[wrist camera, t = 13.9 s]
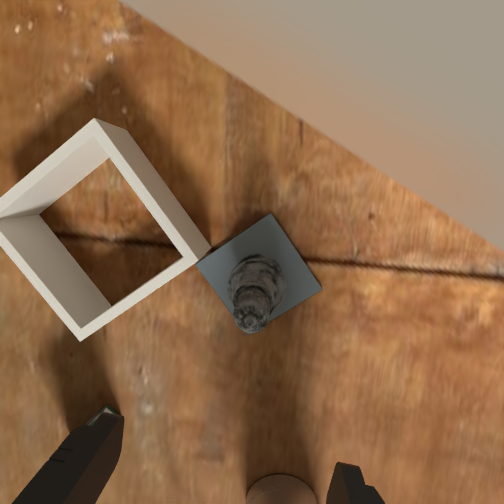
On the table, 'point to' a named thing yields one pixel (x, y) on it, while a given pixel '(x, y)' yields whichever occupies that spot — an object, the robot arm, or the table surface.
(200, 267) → the mat
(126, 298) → the frame
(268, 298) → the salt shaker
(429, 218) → the table surface
